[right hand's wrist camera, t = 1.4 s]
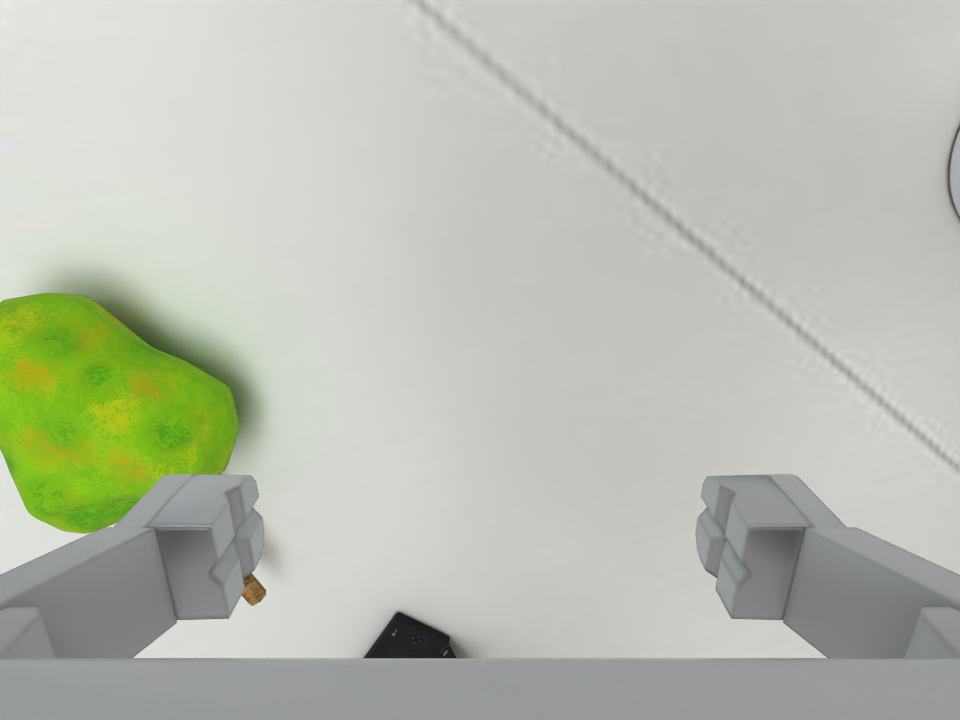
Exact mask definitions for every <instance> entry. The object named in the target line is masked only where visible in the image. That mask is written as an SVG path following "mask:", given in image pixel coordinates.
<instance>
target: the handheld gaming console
mask: <svg viewBox="0 0 960 720" xmlns="http://www.w3.org/2000/svg"><path fill="white" fill-rule="evenodd" d="M449 640H450V638H449V637H448V636H446V635H444V634H442V633H440V632H438V631H435V630H433V629H431V628H429V627H427V626H425V625H423V624H421V623H418V622H416V621H414V620H412V619H410V618H408V617H406V616H404V615H402V614H399V613H397V614H396V615H395V616H394V617H393V619H392V620H391V622H390V623H389V624H388V626H387V627H386V629H385V630H384V631H383V633H382V634H381V635H380V637H379V638H378V640H377V641H376V642H375V644H374V645H373V647H372V648H371V649H370V651H369V652H368V654H367V655H366V656H365V658H456V657H455V655H454V653H453V651H452V649H451V647H450V646H448V645H449ZM445 649H446V650H445ZM444 650H445V652H444ZM443 652H444V653H443ZM442 653H443V654H442Z"/></svg>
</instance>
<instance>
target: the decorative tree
mask: <svg viewBox="0 0 960 720" xmlns="http://www.w3.org/2000/svg"><path fill="white" fill-rule="evenodd" d="M238 429H239V420H238V416H237V412H236V408H235V404H234V400H233V396H232V393H231V390H230V388H229V387H228V386H227V385H225V384H224V383H222V382H221V381H219V380H217V379H216V378H214V377H212V376H211V375H209V374H207V373H205V372H204V371H202V370H200V369H199V368H197V367H195V366H194V365H192V364H190V363H188V362H187V361H185V360H182V359H180V358H177V357H175V356H172V355H170V354H167V353H165V352H162V351H160V350H157V349H155V348H153V347H151V346H150V345H149V344H147V343H146V342H145V341H144V340H142V339H141V338H140V337H139V336H137V335H136V334H135V333H134V332H132V331H131V330H130V329H129V328H128V327H126V326H125V325H124V324H123V323H121V322H120V321H119V320H118V319H117V318H115V317H114V316H113V315H112V314H110V313H109V312H108V311H107V310H105V309H104V308H103V307H102V306H101V305H99V304H98V303H97V302H95V301H94V300H92V299H91V298H89V297H86V296H81V295H69V294H57V293H44V294H36V295H30V296H24V297H18V298H12V299H6V300H3V301H2V302H1V303H0V450H1V452H2V454H3V456H4V458H5V460H6V463H7V466H8V468H9V471H10V473H11V476H12V478H13V480H14V482H15V485H16V487H17V489H18V491H19V494H20V496H21V498H22V500H23V502H24V505H25V507H26V509H27V511H28V512H29V513H30V514H31V515H32V516H34V517H35V518H37V519H39V520H41V521H43V522H45V523H47V524H49V525H52V526H54V527H56V528H58V529H60V530H63V531H66V532H75V533H91V532H95V531H97V530H100V529H102V528H105V527H107V526H110V525H112V524H115V523H117V522H119V521H120V520H121V519H122V518H123V517H124V516H125V515H126V514H127V513H128V511H129V510H130V509H131V508H132V507H133V506H134V505H135V504H136V503H137V502H138V501H139V500H140V499H141V498H142V497H143V496H144V495H145V494H146V493H147V492H148V491H149V490H150V489H151V488H152V487H153V486H154V485H155V484H156V483H157V481H158V480H159V479H160V478H161V477H162V476H165V475H170V474H195V475H197V474H206V475H219V474H221V473H222V472H223V471H225V469H226V467H227V465H228V463H229V460H230V456H231V453H232V450H233V446H234V443H235V440H236V436H237V433H238ZM243 583H244V591H243V593H242V596H243V597H244V598H245V600H246V601H247V602H248V603H249V604H250V605H252V606H253V605H255V604H257V603H259V602H260V601H261V600H262V599H263V598H264V596H265V595H266V590H265V589H264V587H263V586H262V585H261V584H260V583H259V581H258V580H257V579H256V578H255V577H254V575H253V574H252V573H250V574H248V575H247V576H245V577H244V578H243Z"/></svg>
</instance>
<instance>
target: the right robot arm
mask: <svg viewBox="0 0 960 720" xmlns="http://www.w3.org/2000/svg"><path fill="white" fill-rule="evenodd" d="M950 188H951V194H952V198H953V202H954V205H955V208H956V210H957V212H958V214H959V216H960V130H959V132H958V135H957V138H956V141H955V144H954V148H953V152H952V157H951V164H950ZM258 497H259V493H258V488H257V483H256V480H255V479H254V478H253V477H252V476H251V475H206V474H197V475H195V474H170V475H165V476H162V477H161V478H160V479H159V480H158V481H157V483H156V484H155V485H154V486H153V487H152V488H151V489H150V490H149V491H148V492H147V493H146V494H145V495H144V496H143V497H142V498H141V499H140V500H139V501H138V502H137V503H136V504H135V505H134V506H133V507H132V508H131V509H130V510H129V511H128V513H127V514H126V515H125V516H124V517H123V518H122V519H121V520H120V521H119V522H118V523H117V524H116V525H115V526H114V527H113V528H102V529H100V530H97V531H95V532H93V533H91V534H89V535H86V536H84V537H82V538H80V539H78V540H75V541H73V542H71V543H69V544H67V545H65V546H62V547H60V548H58V549H56V550H54V551H51V552H49V553H47V554H45V555H43V556H41V557H38V558H36V559H34V560H32V561H30V562H27V563H25V564H23V565H21V566H19V567H16V568H14V569H12V570H10V571H8V572H6V573H3V574H1V575H0V720H960V575H959V574H956V573H954V572H952V571H950V570H948V569H945V568H943V567H941V566H939V565H937V564H935V563H932V562H930V561H928V560H926V559H924V558H921V557H919V556H917V555H915V554H913V553H911V552H908V551H906V550H904V549H902V548H900V547H897V546H895V545H893V544H891V543H889V542H887V541H884V540H882V539H880V538H878V537H876V536H874V535H871V534H869V533H867V532H865V531H863V530H860V529H858V528H847V527H846V526H845V525H844V524H843V523H842V522H841V521H840V520H839V519H838V518H837V517H836V516H835V515H834V514H833V512H832V511H831V510H830V509H829V508H828V507H827V506H826V505H825V504H824V503H823V502H822V501H821V500H820V499H819V498H818V497H817V496H816V495H815V494H814V493H813V492H812V491H811V490H810V489H809V488H808V487H807V486H806V484H805V483H804V482H803V481H802V480H801V479H800V478H799V477H798V476H795V475H793V474H770V475H738V476H707V477H706V479H705V481H704V483H703V487H702V493H701V497H702V499H703V501H704V502H705V504H706V506H707V508H706V509H705V510H704V511H703V512H702V513H701V514H700V515H699V517H698V518H697V526H696V543H697V550H698V554H699V557H700V560H701V562H702V564H703V566H704V568H705V570H706V571H707V572H709V573H710V574H712V575H713V576H715V577H716V578H717V583H716V591H717V593H718V595H719V597H720V599H721V600H722V602H723V604H724V606H725V608H726V610H727V612H728V613H729V615H730V617H731V619H762V620H783V623H784V624H786V625H787V626H788V627H789V628H791V629H792V630H793V631H794V632H796V633H797V634H798V635H799V636H801V637H802V638H803V639H804V640H806V641H807V642H808V643H809V644H811V645H812V646H813V647H814V648H816V649H817V650H818V651H819V652H821V653H822V654H823V655H824V656H826V657H827V658H133V657H134V656H136V655H137V654H138V653H139V652H141V651H142V650H143V649H144V648H146V647H147V646H148V645H149V644H151V643H152V642H153V641H154V640H156V639H157V638H158V637H160V636H161V635H162V634H163V633H165V632H166V631H167V630H168V629H170V628H171V627H172V626H173V625H175V624H176V623H177V621H176V620H197V619H229V617H230V615H231V613H232V612H233V610H234V608H235V606H236V604H237V602H238V600H239V599H240V597H241V595H242V593H243V591H244V583H243V578H244V577H245V576H247V575H248V574H250V573H251V572H253V571H254V570H255V568H256V566H257V564H258V562H259V560H260V558H261V553H262V549H263V544H264V525H263V518H262V517H261V516H260V514H259V513H258V512H257V511H256V510H255V509H254V508H253V506H254V504H255V502H256V501H257V499H258Z"/></svg>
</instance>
